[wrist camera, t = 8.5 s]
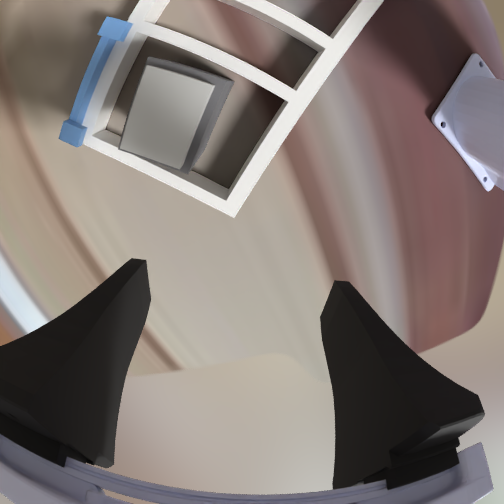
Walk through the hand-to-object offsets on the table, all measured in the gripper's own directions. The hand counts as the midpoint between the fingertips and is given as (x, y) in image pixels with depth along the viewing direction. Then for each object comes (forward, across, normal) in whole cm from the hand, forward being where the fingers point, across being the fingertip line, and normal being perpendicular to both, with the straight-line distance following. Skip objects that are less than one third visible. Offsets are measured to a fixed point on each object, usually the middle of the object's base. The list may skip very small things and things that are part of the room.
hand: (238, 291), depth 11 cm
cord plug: (+10, +4, -5) cm, 13 cm away
